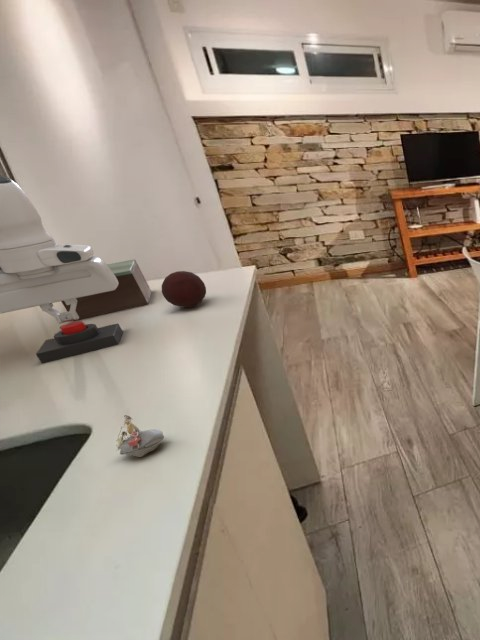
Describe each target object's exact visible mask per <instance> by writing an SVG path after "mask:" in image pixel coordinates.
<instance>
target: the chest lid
mask: <svg viewBox="0 0 480 640" xmlns="http://www.w3.org/2000/svg"><path fill="white" fill-rule="evenodd" d="M136 262H137V260H136V259H130V260H124V261H119V262H118V261H117V262H113V263H106V264H107V266H108V267H109V268H110V269H111V271H112V272H113V274H114V275H115V277H116V276H121V275H126V274H131V273H132V271H133V268H134V266H135V264H136Z"/></svg>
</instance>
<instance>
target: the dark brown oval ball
mask: <svg viewBox="0 0 480 640" xmlns="http://www.w3.org/2000/svg"><path fill="white" fill-rule="evenodd" d="M161 293H162V296H163V298H164V300H166V301H167V302H168V303H169V304H171V305H172V306H175V307H180V308H192V307H195V306H197V305H199V304H201V303H202V302H203V300H204V298H206V295H207V287H206V284H205V282H204V281H203V280H202V278H201V277H200V276H199V275H197V274H195V273H194V272H192V271H186V270H180V271H177V270H176V271H175V272H174V271H173V272H171V273H170V274H168V275H166V277H164V279H163V281H162V283H161Z"/></svg>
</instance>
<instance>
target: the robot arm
mask: <svg viewBox="0 0 480 640" xmlns="http://www.w3.org/2000/svg"><path fill="white" fill-rule="evenodd" d="M107 264H108V263H106V262H105V261H104V260H103V259H101V258H100V257H98V256H94V250H93V248H92V246H90V245H87V244H71V243H56V241H55V239H54V237H53V236H52V235H51V234H50V233H49V232H48V231H47V230H46V228H45V227H44V225H43V221H42V217H41V215H40V214H39V212H38V210H37V209H36V207H35V205H34V204H33V202H32V201H31V199H30V198H29V197H28V195H27V193H26V192H25V190H24V189H22V187H21V186H20V185H19V184H18V183H17V182H15V181H14V180H13V179H11V178H10V177H7V176H4V175H0V315H1V314H5V313H6V314H7V313H10V312H11V313H12V312H15V311H20V310H25V309H31V308H34V307H40V309H41V311H42V312H44V313H46V314H48V315H50V316H51V317H55V319H56V321H57V322H58V324H63V323H69V322H74V321H73V320H75V321H78V320H77V319H79V316H78V314H77V313H76V311H75V310H76V306H77V299H76V298H79V297H84V296H89V295H93V294H98V293H103V292H108V291H113V290H115V289H116V288H117V286H118V284H119V283H118V280H117V278H116V277H115V275H114V274H113V272H112V271H111V269H110V268H109V267H108V266H107ZM61 301H64V302H65V303H66V305H70V304H71V306H70V311H68V312H67V311H64V312H60V311H58V310H56V309H55V308H53V307H54V303H59V302H61ZM79 320H80V319H79Z"/></svg>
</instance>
